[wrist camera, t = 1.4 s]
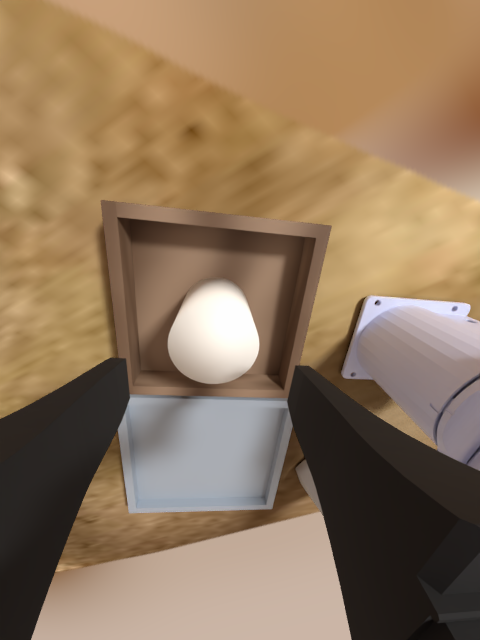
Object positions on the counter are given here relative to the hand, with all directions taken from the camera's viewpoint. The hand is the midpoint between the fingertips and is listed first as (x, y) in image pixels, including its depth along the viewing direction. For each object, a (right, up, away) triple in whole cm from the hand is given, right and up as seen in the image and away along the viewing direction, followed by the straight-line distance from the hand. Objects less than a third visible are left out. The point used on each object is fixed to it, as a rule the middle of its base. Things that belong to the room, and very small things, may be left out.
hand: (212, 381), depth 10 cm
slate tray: (-2, -11, +15) cm, 19 cm away
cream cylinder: (-1, +4, +8) cm, 9 cm away
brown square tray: (-1, +4, +9) cm, 9 cm away
